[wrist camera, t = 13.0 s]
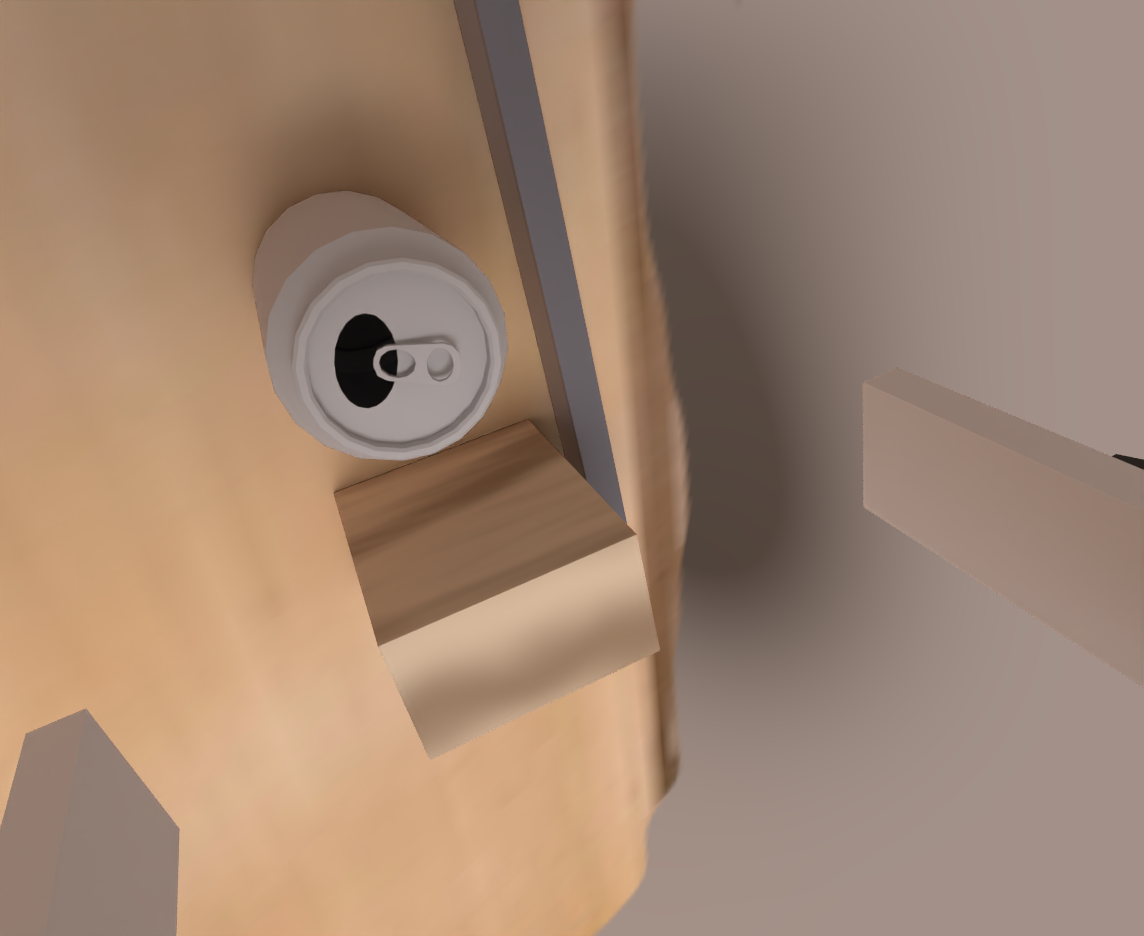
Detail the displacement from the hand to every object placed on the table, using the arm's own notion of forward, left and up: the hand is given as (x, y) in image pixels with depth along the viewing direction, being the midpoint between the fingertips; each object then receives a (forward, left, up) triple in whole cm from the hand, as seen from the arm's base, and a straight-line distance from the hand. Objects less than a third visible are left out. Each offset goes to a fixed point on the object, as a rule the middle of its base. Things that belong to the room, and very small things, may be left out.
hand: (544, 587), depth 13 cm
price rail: (+2, +8, -24) cm, 25 cm away
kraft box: (+12, +1, -24) cm, 27 cm away
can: (0, 0, -24) cm, 24 cm away
